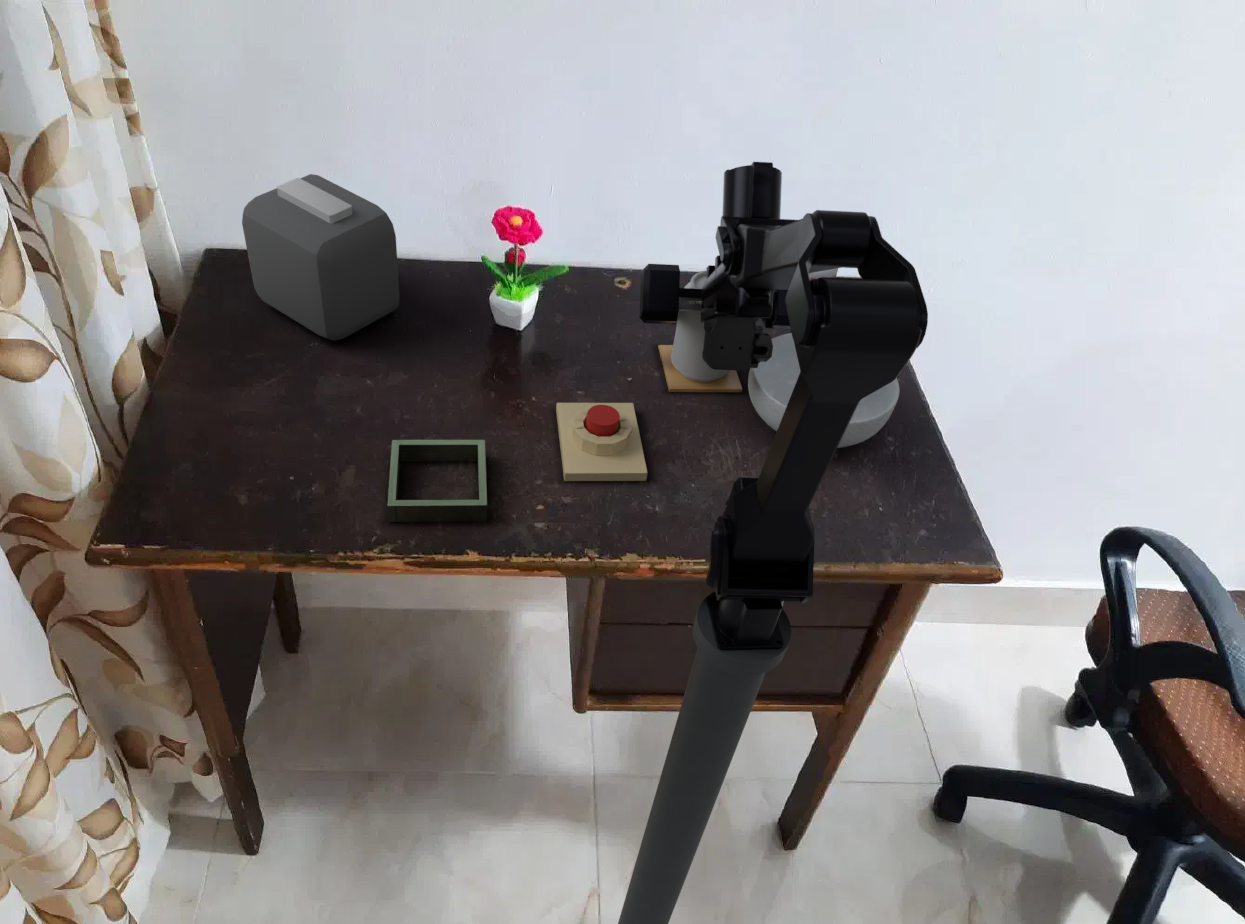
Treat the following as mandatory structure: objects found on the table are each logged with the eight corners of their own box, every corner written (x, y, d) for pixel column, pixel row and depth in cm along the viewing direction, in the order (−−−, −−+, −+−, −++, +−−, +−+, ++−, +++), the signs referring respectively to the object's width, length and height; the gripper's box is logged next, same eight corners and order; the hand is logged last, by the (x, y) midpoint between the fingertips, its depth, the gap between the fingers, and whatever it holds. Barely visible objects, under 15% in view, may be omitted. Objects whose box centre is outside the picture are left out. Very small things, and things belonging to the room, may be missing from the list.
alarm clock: (400, 318, 122) (393, 205, 111) (333, 356, 115) (318, 240, 104) (316, 269, 128) (301, 158, 117) (248, 303, 122) (225, 189, 111)
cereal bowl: (820, 491, 104) (838, 442, 99) (709, 412, 112) (721, 364, 107) (909, 430, 112) (930, 383, 107) (800, 361, 120) (814, 314, 115)
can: (730, 389, 115) (751, 304, 106) (669, 382, 115) (685, 296, 106) (729, 352, 120) (749, 269, 111) (670, 346, 120) (685, 262, 112)
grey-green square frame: (486, 521, 98) (487, 504, 96) (388, 522, 97) (387, 505, 95) (484, 456, 104) (485, 439, 103) (393, 456, 104) (391, 439, 102)
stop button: (619, 437, 104) (621, 425, 103) (587, 437, 104) (588, 425, 103) (615, 416, 107) (617, 404, 105) (584, 416, 106) (585, 404, 105)
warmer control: (646, 481, 103) (649, 460, 101) (564, 481, 102) (566, 460, 100) (631, 410, 112) (635, 390, 109) (556, 410, 111) (557, 390, 109)
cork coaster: (741, 392, 115) (742, 389, 115) (669, 392, 114) (669, 389, 114) (727, 348, 121) (727, 345, 121) (658, 348, 121) (658, 344, 120)
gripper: (649, 356, 98) (628, 376, 113) (827, 363, 99) (782, 382, 114) (653, 247, 97) (631, 283, 113) (831, 255, 98) (785, 289, 114)
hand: (708, 312), depth 114 cm, fingers open, 9 cm apart
